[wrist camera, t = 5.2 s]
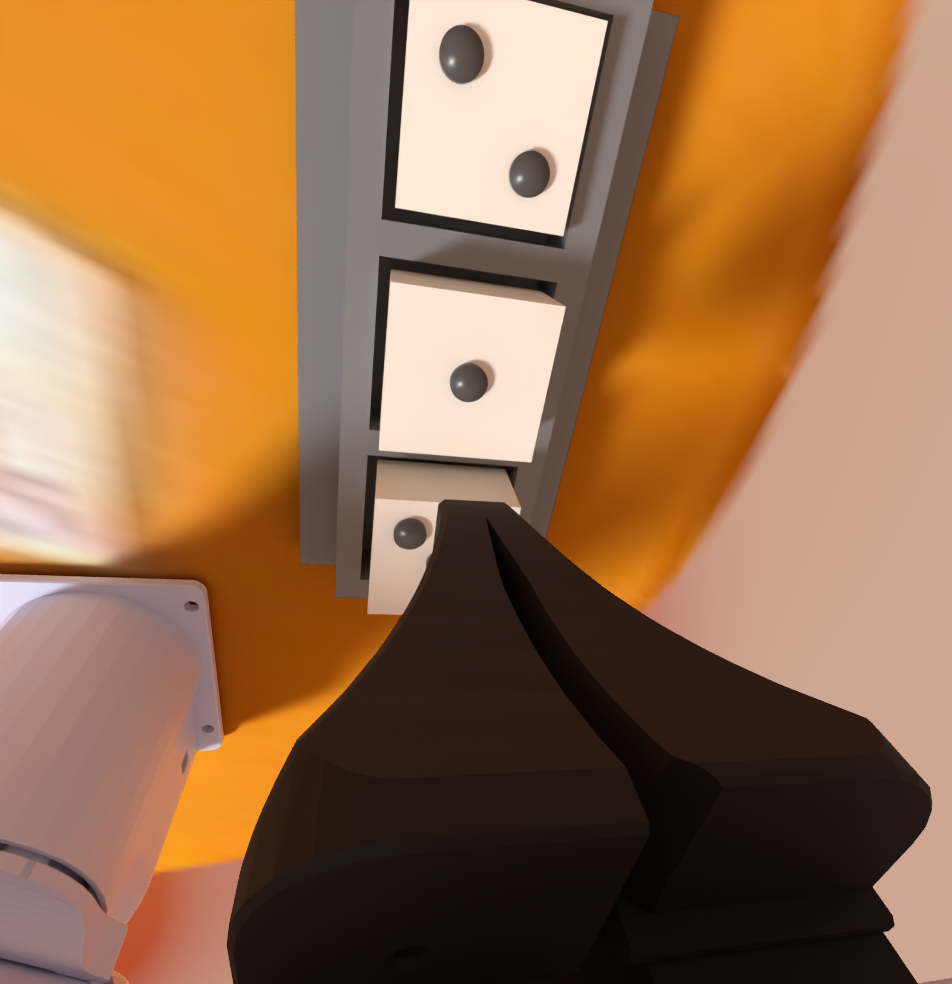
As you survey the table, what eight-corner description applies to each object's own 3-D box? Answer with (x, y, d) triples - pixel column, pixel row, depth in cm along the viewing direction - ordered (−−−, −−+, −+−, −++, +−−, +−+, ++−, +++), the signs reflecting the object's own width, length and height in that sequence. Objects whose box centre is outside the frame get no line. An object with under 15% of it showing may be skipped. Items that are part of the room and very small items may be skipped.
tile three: (485, 569, 18) (498, 620, 16) (370, 565, 18) (367, 618, 15) (505, 469, 17) (522, 511, 14) (377, 459, 16) (375, 502, 14)
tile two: (538, 230, 15) (565, 236, 12) (394, 206, 14) (395, 208, 12) (572, 50, 13) (611, 18, 10) (408, 10, 12) (412, -34, 10)
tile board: (530, 557, 22) (548, 602, 19) (303, 547, 20) (291, 596, 17) (660, 28, 14) (719, -9, 11) (301, -66, 12) (278, -133, 9)
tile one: (513, 428, 16) (533, 465, 14) (380, 416, 15) (378, 453, 13) (540, 291, 14) (568, 308, 12) (390, 268, 13) (390, 282, 11)
